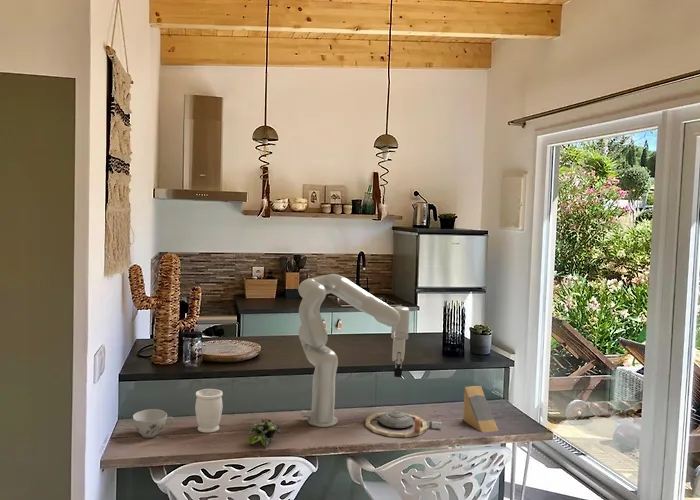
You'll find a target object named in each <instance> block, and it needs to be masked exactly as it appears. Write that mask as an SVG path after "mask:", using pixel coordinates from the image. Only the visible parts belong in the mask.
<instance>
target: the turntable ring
mask: <svg viewBox="0 0 700 500" xmlns="http://www.w3.org/2000/svg"><path fill="white" fill-rule="evenodd" d="M386 412H387V411H384V412H377V413H373V414H370V415H369V416H367V417H366V418H365V427H366V428H367V429H368V430H370V431H371V432H372V433H375V434H380V435H382V436H386V437H393V438H409V437H411V438H412V437H417V436H420V435H422V434H425V432H428V422H427V421H426V420H425V419H423V418H421V417H420V416H418V415H415V414H411V413H407V412H405V413H406V414H408V415H409V416H411V417H412V419H413V420H414V426H413V427H414V431H410V432H394V431H393V432H392V431H386V430H383V429H380V428H377V427H375V426H374V425H372V424H371V421H373V420H375V419H377V418H380V416H381V415H383V414H384V413H386ZM421 425H422V426H421Z"/></svg>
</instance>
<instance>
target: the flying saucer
mask: <svg viewBox="0 0 700 500" xmlns="http://www.w3.org/2000/svg"><path fill="white" fill-rule="evenodd" d="M385 412H386V413H384V414H383V415H381V416H380V417H378V422H379V423H380V424H381V425H383V426H384V427H385V426H386V427H389V428H392V429H393V428H394V429H403V428H404V429H405V428H408V427H412V426H413V425H415V419H412V417H411V416H409V415H408V414H409V413H407V412H403V411H401V410H400V411H399V410H390V411H385ZM406 413H407V414H406Z"/></svg>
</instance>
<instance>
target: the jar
mask: <svg viewBox="0 0 700 500" xmlns="http://www.w3.org/2000/svg"><path fill="white" fill-rule="evenodd" d="M222 396H223V391H222V390H220V389H216V388H203V389H200V390H197V391H196V392H195V397H196V399H195V400H196V401H195V405H194V406H195V408H194V410H195V417H196V422H197V424H198V425H197V426H198V427H197V430H198V432H200V433H204V434H205V433H208V434H210V433H215V432H217V431H219V430H220V426H219V424H220V422H221V418H222V413H223V398H222Z"/></svg>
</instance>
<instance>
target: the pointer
mask: <svg viewBox="0 0 700 500" xmlns="http://www.w3.org/2000/svg"><path fill="white" fill-rule="evenodd" d="M428 423H429V425H428V427H429V428H428V429H434V430H442V427H443V426H442V425H443V424H442V421H433V420H432V421H429V422H428Z"/></svg>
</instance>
